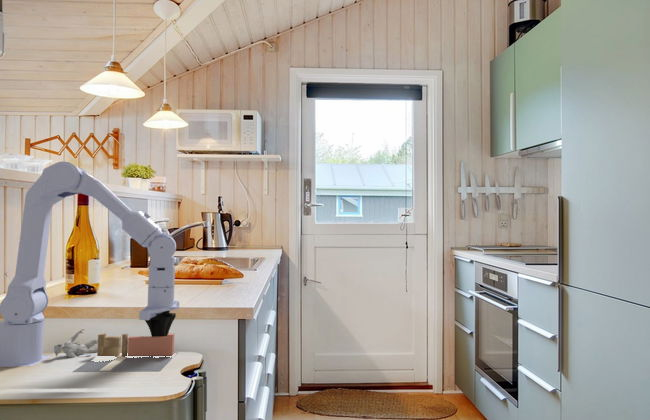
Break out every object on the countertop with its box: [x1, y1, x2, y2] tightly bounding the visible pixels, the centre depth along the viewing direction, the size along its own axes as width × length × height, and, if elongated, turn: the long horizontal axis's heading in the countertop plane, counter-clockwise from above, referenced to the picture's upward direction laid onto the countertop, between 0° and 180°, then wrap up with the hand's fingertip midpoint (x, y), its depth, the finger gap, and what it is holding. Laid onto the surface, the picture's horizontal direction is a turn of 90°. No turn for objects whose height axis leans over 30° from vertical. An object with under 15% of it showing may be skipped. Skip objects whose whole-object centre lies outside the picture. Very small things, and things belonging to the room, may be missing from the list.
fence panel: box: [128, 333, 175, 356], centre depth 99 cm, size 10×1×5 cm, turn 94°
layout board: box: [72, 351, 179, 373], centre depth 95 cm, size 17×14×1 cm
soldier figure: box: [53, 328, 98, 359], centre depth 101 cm, size 8×5×12 cm
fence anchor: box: [96, 333, 129, 357], centre depth 99 cm, size 6×1×5 cm, turn 94°
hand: (159, 346), depth 102 cm, fingers closed
